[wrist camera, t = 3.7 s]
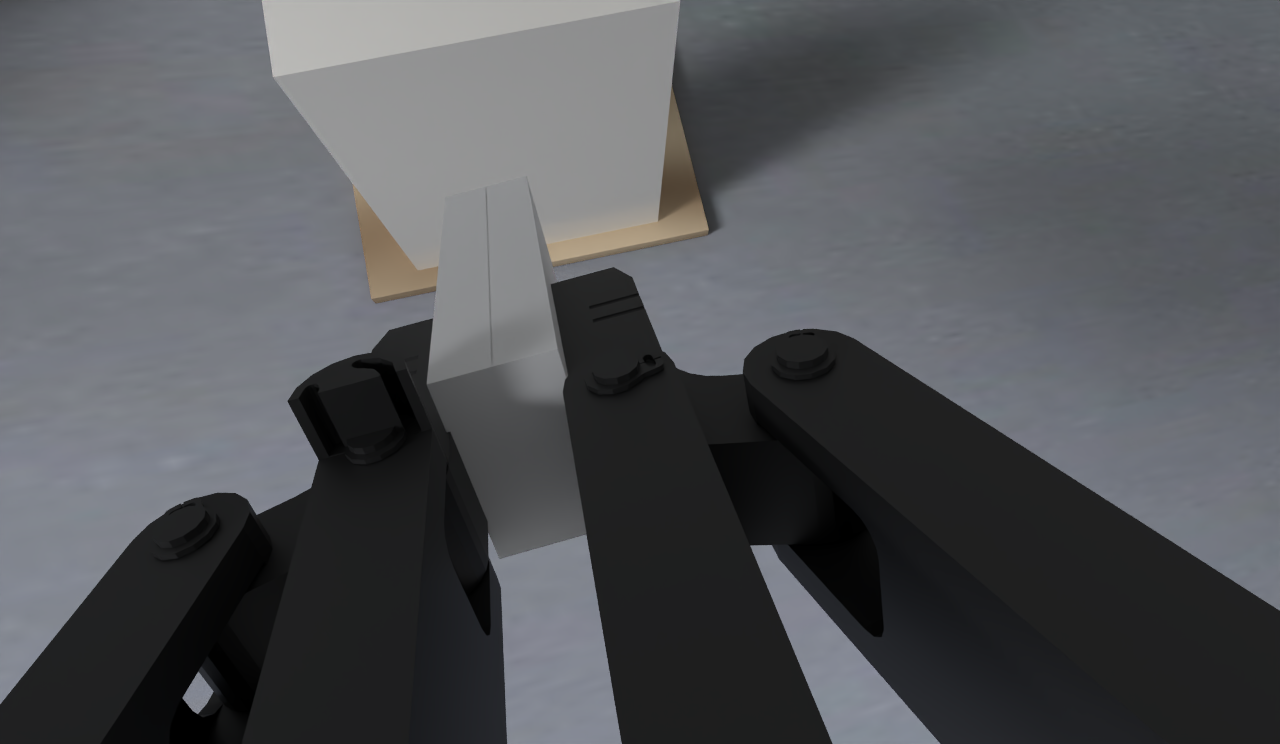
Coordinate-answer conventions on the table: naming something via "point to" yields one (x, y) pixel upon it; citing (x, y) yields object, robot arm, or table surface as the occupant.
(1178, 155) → the table surface
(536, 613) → the table surface
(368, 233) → the mat
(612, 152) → the tile
